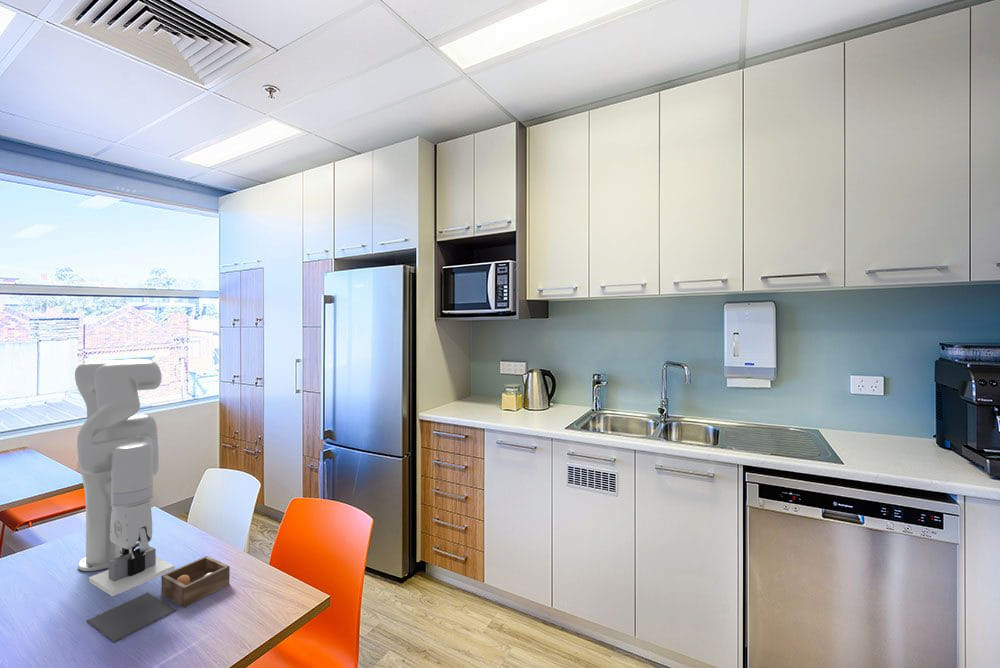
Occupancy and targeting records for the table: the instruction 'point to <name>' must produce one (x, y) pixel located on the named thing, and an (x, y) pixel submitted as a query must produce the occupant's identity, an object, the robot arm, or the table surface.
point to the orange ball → (184, 579)
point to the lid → (118, 573)
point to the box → (195, 581)
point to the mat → (130, 616)
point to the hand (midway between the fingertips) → (132, 570)
